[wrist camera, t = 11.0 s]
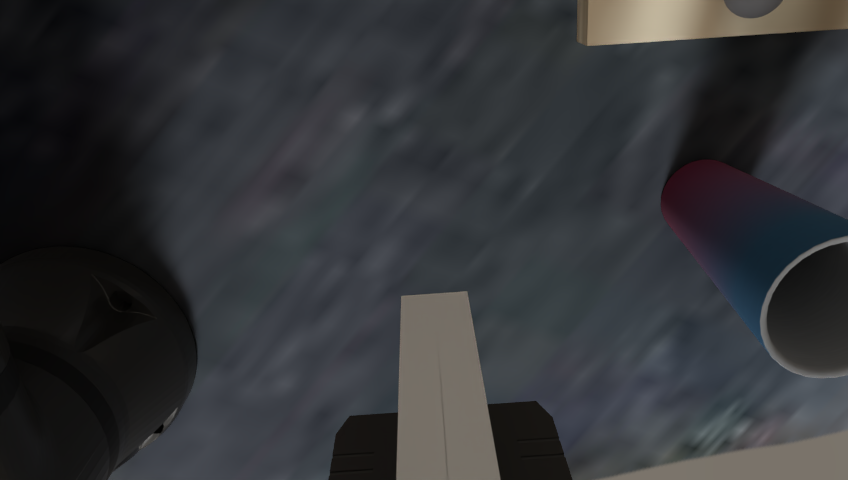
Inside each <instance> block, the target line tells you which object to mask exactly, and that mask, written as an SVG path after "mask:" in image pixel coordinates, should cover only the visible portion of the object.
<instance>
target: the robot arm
mask: <svg viewBox="0 0 848 480" xmlns="http://www.w3.org/2000/svg"><path fill="white" fill-rule="evenodd" d="M196 366H197V355H196V347H195V342H194V338H193V334H192V332H191V329H190V326H189V324H188V322H187V320H186V318H185V316H184V314H183V312H182V311H181V309H180V308H179V306H178V305H177V304H176V302H175V301H174V300H173V298H172V297H171V296H170V295H169V294H168V293H167V292H166V291H165V289H164V288H163V287H162V286H160V285H159V284H158V283H157V282H156V281H155V280H154V279H152V278H151V277H150V276H148V275H147V274H146V273H144V272H143V271H141V270H140V269H138V268H136V267H135V266H133V265H131V264H129V263H127V262H125V261H123V260H121V259H119V258H117V257H114V256H111V255H109V254H106V253H102V252H99V251H95V250H91V249H85V248H79V247H65V246H60V247H45V248H40V249H35V250H31V251H27V252H24V253H21V254H19V255H17V256H14V257H12V258H10V259H9V260H7V261H5V262H4V263H2V264H1V265H0V480H108V478H109V476H110V475H111V473H112V472H113V471H115V470H116V469H117V468H119V467H120V466H121V465H123V464H124V463H125V462H127V461H128V460H129V459H130V458H132V457H133V456H134V455H135V454H136V453H137V452H138V451H139V450H141V449H142V448H144V447H146V446H147V445H149V444H150V443H152V442H153V441H154V440H155V439H157V438H158V437H159V436H160V435H161V434H162V433H164V432H165V430H166V429H167V428H168V427H169V426H170V425H171V424H172V422H173V421H174V420H175V418H176V417H177V415H178V413H179V412H180V410H181V408H182V406H183V404H184V402H185V401H186V399H187V397H188V395H189V393H190V391H191V388H192V386H193V383H194V379H195V374H196ZM329 480H572V477H571V474H570V471H569V468H568V465H567V462H566V458H565V457H564V452H563V449H562V446H561V443H560V441H559V436H558V433H557V430H556V427H555V424H554V421H553V418H552V416H551V415H550V414H549V413H548V412H547V411H546V410H545V409H543V408H542V407H541V406H540V405H539V404H538V403H537V402H536V401H530V402H515V403H501V404H487V401H486V395H485V389H484V384H483V378H482V373H481V367H480V361H479V356H478V350H477V344H476V339H475V333H474V327H473V322H472V316H471V311H470V305H469V299H468V294H467V291H465V292H451V293H437V294H423V295H409V296H401V327H400V363H399V399H398V413H385V414H371V415H357V416H349V418H348V419H347V420H346V422H345V423H344V424H343V426H342V427H341V428H340V430H339V431H338V432H337V434H336V437H335V443H334V450H333V459H332V462H331V468H330V476H329Z"/></svg>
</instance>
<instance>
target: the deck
mask: <svg viewBox="0 0 848 480" xmlns="http://www.w3.org/2000/svg"><path fill="white" fill-rule="evenodd" d="M835 29H848V0H783V1H782V2H781V4H780V5H779V6H778V7H777V8H776V9H775V10H773V11H772V12H770V13H769V14H767V15H764V16H762V17H758V18H743V17H739V16H737V15H735V14H734V13H732V12H731V11H730V10H729V9H728V8H727V6H726V5H725V3H724V0H578V8H577V42H579V43H582V44H584V45H586V46H593V45H608V44H624V43H639V42H654V41H669V40H684V39H699V38H714V37H729V36H745V35H760V34H775V33H790V32H805V31H820V30H835Z"/></svg>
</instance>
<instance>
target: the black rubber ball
mask: <svg viewBox="0 0 848 480" xmlns="http://www.w3.org/2000/svg"><path fill="white" fill-rule="evenodd" d="M782 1H783V0H724V3H725V5H726V6H727V8H728V9H729V10H730V11H731V12H732V13H734V14H735V15H737V16H739V17H743V18H758V17H762V16H764V15H767V14H769V13H770V12H772V11H773V10H775V9H776V8H777V7H778V6H779V5H780V4H781V2H782Z"/></svg>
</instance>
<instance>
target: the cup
mask: <svg viewBox="0 0 848 480" xmlns="http://www.w3.org/2000/svg"><path fill="white" fill-rule="evenodd" d="M661 210H662V213H663V216H664V218H665V220H666V221H667V223H668V224H669V226H670V227H671V228H672V230H673V231H674V232H675V233H676V235H677V236H678V237H679V239H680V240H681V241H682V242H683V244H684V245H685V246H686V248H687V249H688V250H689V251H690V253H691V254H692V255H693V257H694V258H695V259H696V260H697V262H698V263H699V264H700V266H701V267H702V268H703V269H704V271H705V272H706V273H707V275H708V276H709V277H710V278H711V280H712V281H713V282H714V284H715V285H716V286H717V288H718V289H719V290H720V291H721V293H722V294H723V295H724V297H725V298H726V299H727V300H728V302H729V303H730V304H731V306H732V307H733V308H734V309H735V311H736V312H737V313H738V315H739V316H740V317H741V318H742V320H743V321H744V322H745V324H746V325H747V326H748V327H749V329H750V330H751V331H752V333H753V334H754V335H755V336H756V338H757V339H758V340H759V342H760V343H761V344H762V346H763V347H764V348H765V349H766V351H767V352H768V353H769V355H770V356H771V357H772V358H773V359H774V360H775V361H776V362H777V363H778V364H780V365H781V366H782V367H784V368H786V369H787V370H789V371H791V372H793V373H796V374H799V375H803V376H806V377H814V378H834V377H840V376H845V375H848V220H847V219H845V218H843V217H840V216H838V215H836V214H834V213H832V212H829V211H827V210H825V209H823V208H821V207H819V206H816V205H814V204H812V203H810V202H808V201H805V200H803V199H801V198H799V197H797V196H795V195H792V194H790V193H788V192H786V191H784V190H781V189H779V188H777V187H775V186H773V185H771V184H768V183H766V182H764V181H762V180H760V179H758V178H755V177H753V176H751V175H749V174H747V173H744V172H742V171H740V170H738V169H736V168H734V167H731V166H729V165H727V164H725V163H722V162H720V161H717V160H710V159H707V160H698V161H694V162H691V163H689V164H687V165H685V166H683V167H682V168H680V169H679V170H677V171H676V172H675V173H674V174H673V175H672V176H671V178H670V179H669V180H668V182H667V183H666V185H665V187H664V189H663V193H662V196H661Z"/></svg>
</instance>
